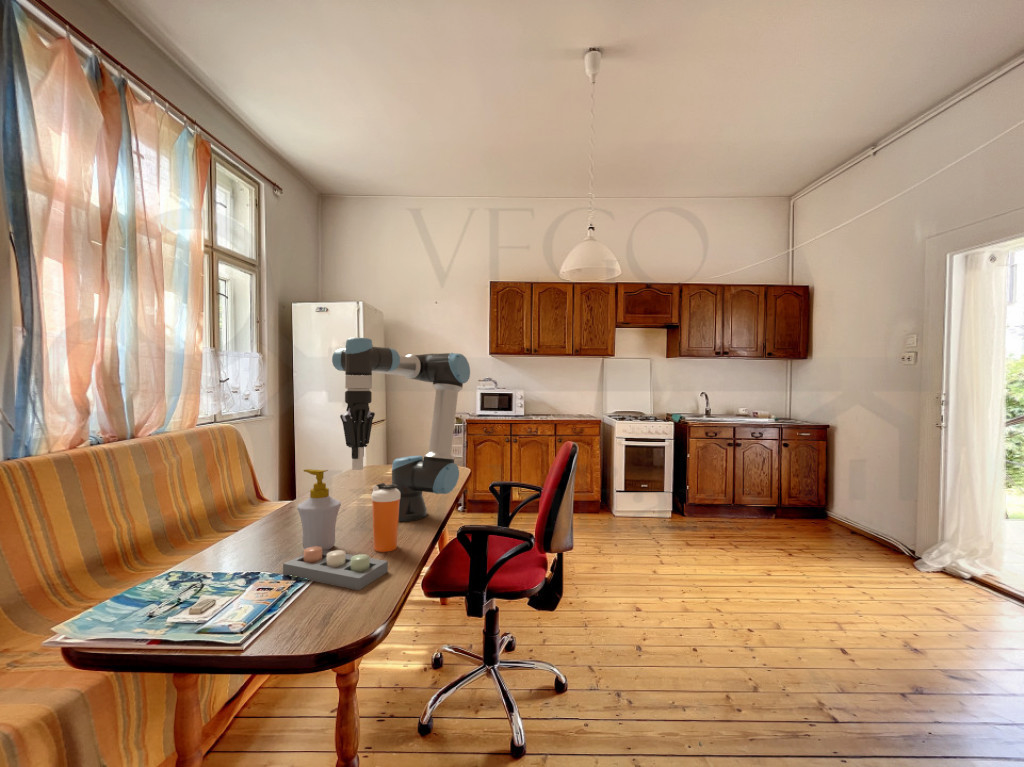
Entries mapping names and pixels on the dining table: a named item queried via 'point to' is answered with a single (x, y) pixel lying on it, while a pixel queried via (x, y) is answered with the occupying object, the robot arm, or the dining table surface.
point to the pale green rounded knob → (360, 563)
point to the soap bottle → (319, 515)
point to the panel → (335, 571)
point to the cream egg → (336, 558)
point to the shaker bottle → (385, 516)
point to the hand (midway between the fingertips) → (357, 469)
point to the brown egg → (313, 554)
